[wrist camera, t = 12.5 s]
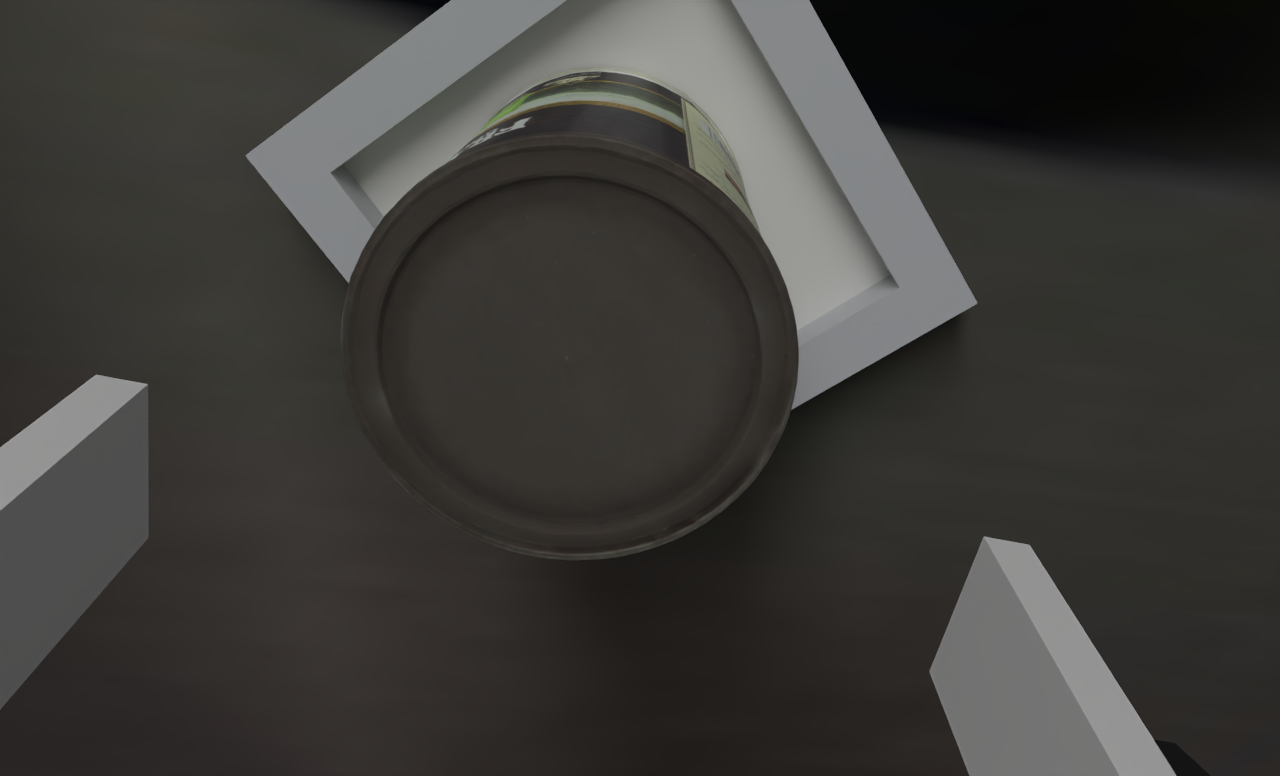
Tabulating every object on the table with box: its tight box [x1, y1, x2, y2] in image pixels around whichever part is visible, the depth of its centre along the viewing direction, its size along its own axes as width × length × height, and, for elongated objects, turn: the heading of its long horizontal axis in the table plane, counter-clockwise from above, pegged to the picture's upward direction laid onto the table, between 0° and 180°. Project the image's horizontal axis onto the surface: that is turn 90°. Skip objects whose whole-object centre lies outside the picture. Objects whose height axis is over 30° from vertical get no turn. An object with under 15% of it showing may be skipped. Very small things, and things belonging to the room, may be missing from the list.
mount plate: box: [246, 0, 977, 410], centre depth 35 cm, size 18×18×2 cm
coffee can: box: [340, 67, 799, 560], centre depth 28 cm, size 10×10×14 cm
